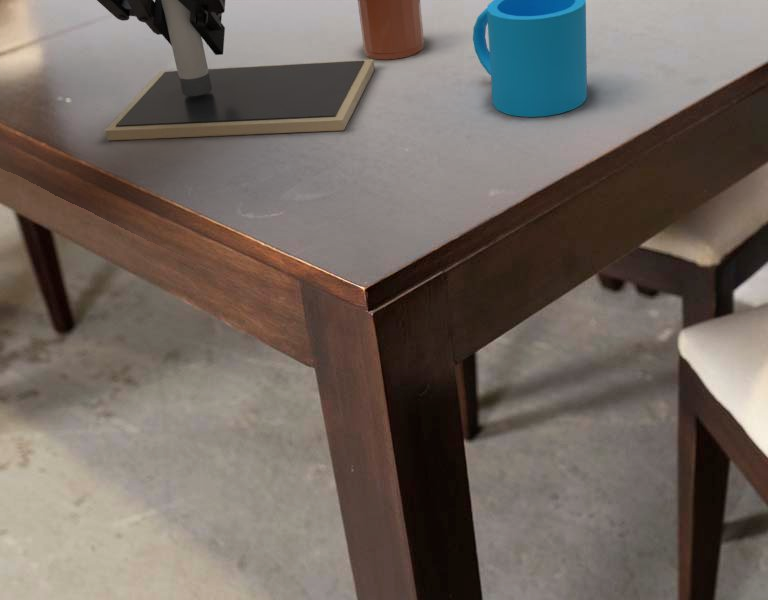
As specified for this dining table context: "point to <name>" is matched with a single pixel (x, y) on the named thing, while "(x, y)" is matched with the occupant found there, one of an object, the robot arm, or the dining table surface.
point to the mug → (534, 55)
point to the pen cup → (391, 28)
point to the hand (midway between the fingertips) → (202, 42)
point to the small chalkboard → (248, 102)
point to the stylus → (187, 50)
